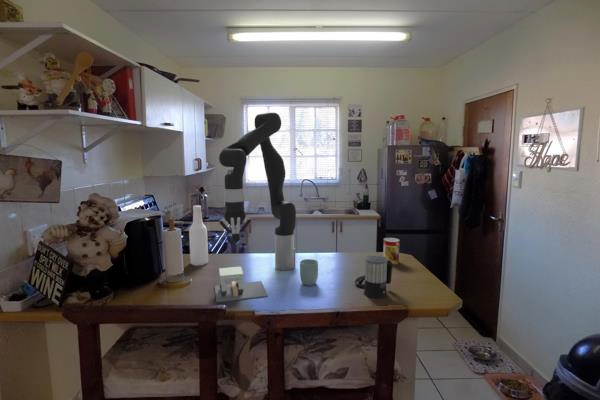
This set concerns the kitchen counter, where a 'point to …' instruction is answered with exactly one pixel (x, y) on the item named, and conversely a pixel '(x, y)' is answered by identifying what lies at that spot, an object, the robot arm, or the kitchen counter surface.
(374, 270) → the milk frother
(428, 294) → the kitchen counter surface
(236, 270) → the pale mint angular piece
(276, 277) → the kitchen counter surface
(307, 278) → the cup
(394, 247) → the canned food
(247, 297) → the mat
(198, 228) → the alcohol
